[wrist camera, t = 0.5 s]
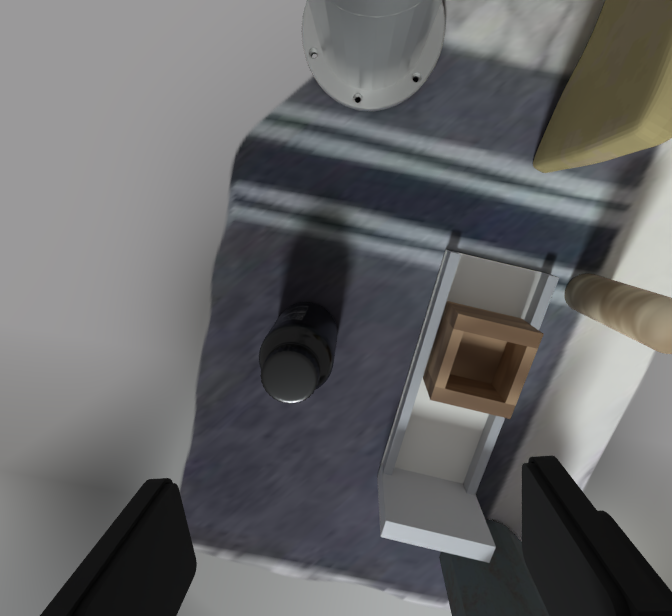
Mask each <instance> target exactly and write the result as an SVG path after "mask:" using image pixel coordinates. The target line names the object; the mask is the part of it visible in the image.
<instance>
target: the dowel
mask: <svg viewBox="0 0 672 616" xmlns="http://www.w3.org/2000/svg"><path fill="white" fill-rule="evenodd" d="M565 300H566V303H567V304H568V306H569V307H571V308H572V309H574V310H576V311H578V312H580V313H582V314H584V315H586V316H588V317H590V318H592V319H594V320H596V321H598V322H600V323H602V324H604V325H606V326H608V327H610V328H612V329H614V330H616V331H618V332H620V333H622V334H624V335H626V336H628V337H630V338H632V339H634V340H636V341H638V342H640V343H642V344H644V345H646V346H648V347H650V348H652V349H654V350H656V351H658V352H661V353H666V354H672V298H670V297H667V296H664V295H660V294H657V293H654V292H651V291H647V290H644V289H641V288H637V287H634V286H631V285H628V284H624V283H621V282H618V281H614V280H611V279H608V278H604V277H601V276H598V275H595V274H590V273H586V274H581V275H579V276H576V277H575V278H573V279H572V280H571V281H570V282H569V284H568V285H567V287H566V290H565Z"/></svg>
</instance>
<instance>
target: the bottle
mask: <svg viewBox="0 0 672 616" xmlns="http://www.w3.org/2000/svg"><path fill="white" fill-rule="evenodd" d="M486 523H487V525H488V528H489V531H490V533H491V536H492V538H493V541H494V543H495V546H496V548H495V550H494V553H493V555H492V558H491V560H490V562H489V563H488V562H484V561H479V560H475V559H471V558H467V557H463V556H458V555H454V554H450V553H446V552H442V551H441V554H440V557H439V558H440V563H441V567H442V572H443V576H444V581H445V586H446V590H447V595H448V599H449V604H450V609H451V613H452V616H549V614H548V612H547V609H546V607H545V605H544V603H543V601H542V598H541V596H540V594H539V592H538V590H537V588H536V585H535V583H534V581H533V579H532V577H531V574H530V572H529V570H528V568H527V566H526V563H525V560H524V557H523V552H522V542H521V541H520V540H519V539H518V538H517V537H516V536H515V535H514V534H513V533H512V532H511V531H510V530H509V529H508V528H507V527H506V526H504V525H503V524H501V523H498V522H495V521H492V520H486Z"/></svg>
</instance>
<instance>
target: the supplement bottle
mask: <svg viewBox="0 0 672 616" xmlns="http://www.w3.org/2000/svg"><path fill="white" fill-rule="evenodd" d="M336 342H337V326H336V323H335V320H334V318H333V317H332V315H331V314H330V313H329V312H328V311H327V310H326V309H325V308H323V307H322V306H320V305H318V304H315V303H310V302H301V303H296V304H294V305H291V306H290V307H288V308H287V309H286V310H284V311H283V312H282V314H281V315H280V316H279V318H278V319H277V321H276V322H275V324H274V325H273V327H272V328H271V330H270V331H269V333H268V334H267V336H266V337H265V339H264V341H263V343H262V345H261V348H260V352H259V364H260V368H261V379H262V380H261V382H262V384H263V387H264V388H265V390H266V392H268V393H269V395H270V396H272V397H273V398H274V399H277V400H278V401H281V402H283V403H289V404H290V403H297V402H301V401H303V400H306V399H307V398H309V397H310V396H311V394H313V393H314V390H316V389H318V388H319V387H320V386H322V385H323V384H324V383H325V382H326V380H327V379H328V378H329V376H330V374H331V371H332V368H333V363H334V356H335V349H336Z"/></svg>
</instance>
